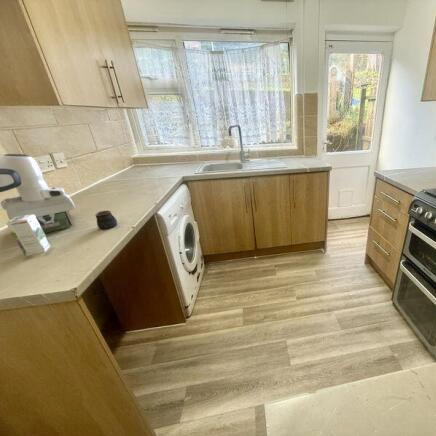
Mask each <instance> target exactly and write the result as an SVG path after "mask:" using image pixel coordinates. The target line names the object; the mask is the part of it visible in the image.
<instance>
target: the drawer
mask: <svg viewBox="0 0 436 436" xmlns="http://www.w3.org/2000/svg"><path fill="white" fill-rule="evenodd" d="M54 215H55V216H54V219H53V221H54V223H52V224H47V225H45V224H44V222H42V221H40V220H38V218H37V217H36V219H37V220H38V222H39V224H40V226H41V228H42V230H43V232H44V234H46V233H52V232H54V231H60V230H64V229H68V228H70V227H71V226H70V225H69V223H68V220H67V218H66V216H65V213H64V212H60V213H55V214H54ZM43 219H44V220H46V221H47V220H51V217H50V215H45V216H43Z"/></svg>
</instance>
